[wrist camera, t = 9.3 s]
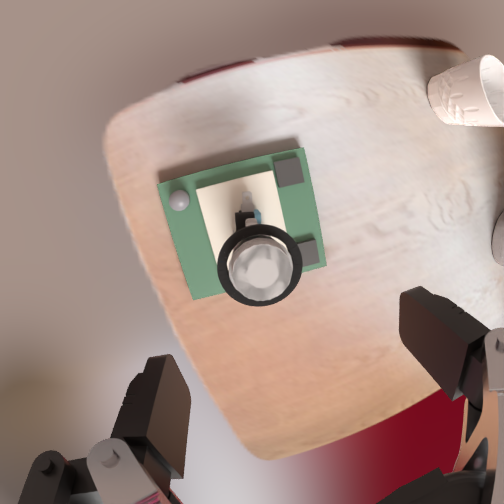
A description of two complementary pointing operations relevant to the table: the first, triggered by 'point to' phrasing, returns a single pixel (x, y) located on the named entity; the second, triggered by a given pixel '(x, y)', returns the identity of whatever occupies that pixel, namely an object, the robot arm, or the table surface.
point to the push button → (258, 260)
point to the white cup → (470, 93)
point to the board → (229, 201)
